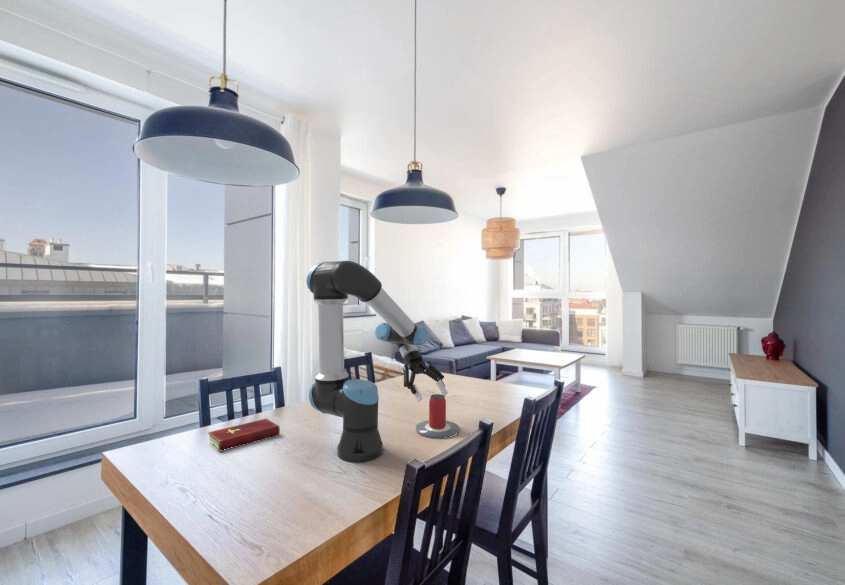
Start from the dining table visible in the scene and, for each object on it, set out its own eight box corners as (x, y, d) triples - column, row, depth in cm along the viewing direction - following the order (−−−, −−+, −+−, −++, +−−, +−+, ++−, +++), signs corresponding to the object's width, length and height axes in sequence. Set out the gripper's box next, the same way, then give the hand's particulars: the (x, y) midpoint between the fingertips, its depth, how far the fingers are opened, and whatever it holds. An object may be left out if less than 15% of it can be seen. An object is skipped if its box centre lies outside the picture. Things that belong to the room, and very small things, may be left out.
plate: (442, 442, 133) (442, 438, 133) (407, 431, 144) (407, 427, 144) (467, 429, 146) (467, 425, 146) (434, 419, 157) (434, 416, 157)
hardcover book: (279, 436, 139) (279, 425, 139) (218, 453, 124) (218, 440, 124) (266, 428, 148) (266, 417, 148) (207, 443, 133) (207, 431, 133)
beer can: (426, 424, 147) (426, 394, 147) (441, 422, 149) (441, 393, 149) (432, 430, 141) (433, 399, 141) (448, 428, 143) (448, 397, 143)
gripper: (429, 357, 170) (451, 397, 159) (383, 363, 155) (404, 408, 143) (436, 347, 166) (460, 387, 155) (391, 352, 150) (413, 397, 139)
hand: (433, 397), depth 149 cm, fingers open, 13 cm apart
